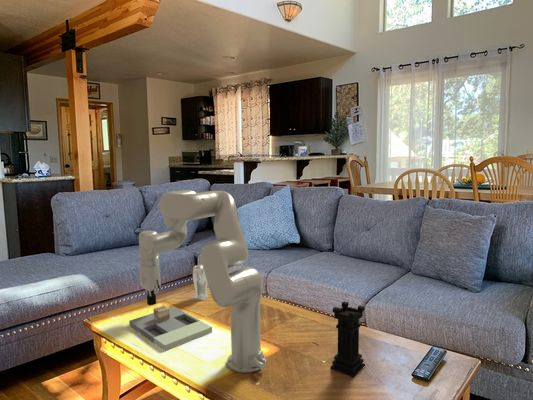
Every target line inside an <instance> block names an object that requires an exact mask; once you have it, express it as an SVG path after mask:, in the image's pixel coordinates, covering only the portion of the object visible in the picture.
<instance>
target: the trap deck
mask: <svg viewBox="0 0 533 400" xmlns="http://www.w3.org/2000/svg"><path fill="white" fill-rule="evenodd" d="M168 308H169V313H170V319H169V320H166V321H163V322H160V323H159V322H158V321H156V320H155V319H154V312H152V313H149V314H146V315H143V316H141V317H136V318H133V319H131V320H129V321H128V322H129V323H128V324H129V327H130V328H132V329H133V330H135V331H137V333H139V334H141V335H142V336H144V337H145V338H146V339H148V340H149V341H150V342H152V343H153V344H155V345H157V346H158V347H159V348H160V349H162V350H164V351H168V350H170V349H172V348H176V347H177V346H180V345H183V344H185V343H188V342H190V341H192V340H196V339H197V338H198V339H199V338H201V337H203V336H205V335H208V334H210V333H213V326H211V325H209V324H207V323H205V322H203V321H202V320H200V319H197V318H195V317H194V316H192V315H190V314H188V313H186V312H185V311H183V310H181V309H179V308H177V307H175V306H171V307H168Z"/></svg>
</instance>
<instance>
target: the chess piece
mask: <svg viewBox="0 0 533 400" xmlns="http://www.w3.org/2000/svg"><path fill="white" fill-rule="evenodd" d="M364 311H365V306H363V305H359V306H357V308H356V307H351V306H349V302H347V301H342V302H341V307H337V306H334V307H333V308H332V313H334V317H333V318H334V319H335V320H337V324H336V325H335V327H336V329H337V354H335V355H334V357H333V360H332V362H331V365H330V370H333V371H335V372H338V373H339V374H340V373H341V374H343V375H345V376H348V377H351V378H355V377H356V376H357V374H359V373H360V372H361V371H362V370H363V369H364V368H365V367H366V364H365V362H364V361H365V359H363V358H362V357H363V354H360V351H359V349H360V348H359V347H360V345H359V344H360V338H359V337H360V328H361V327H362V325H361V324H362V323H360V320H361V318H363V317H364V316H363V313H364ZM364 366H365V367H364ZM363 367H364V368H363ZM362 368H363V369H362ZM361 369H362V370H361ZM360 370H361V371H360ZM359 371H360V372H359ZM358 372H359V373H358Z"/></svg>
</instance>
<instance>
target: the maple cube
mask: <svg viewBox="0 0 533 400" xmlns="http://www.w3.org/2000/svg"><path fill="white" fill-rule="evenodd" d="M169 308H170V307H167V306H166V305H161V306H157V307H154V308H153V309H152V310H153V313H154V319H155V320H156V321H158V322H159V323H160V322H163V321H166V320H169V319H170V313H169Z"/></svg>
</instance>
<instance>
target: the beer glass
mask: <svg viewBox="0 0 533 400" xmlns="http://www.w3.org/2000/svg"><path fill="white" fill-rule="evenodd" d="M192 280H193V281H192V282H193V286H194V289H195V293H194V299H195V300H196V301H206V300H207V299H208V298H209V296H208V291H207V290H208V283H207V279H206V276H205V273H204V269H203V266H202V264H197V265H196V264H195V265H193V266H192Z"/></svg>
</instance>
